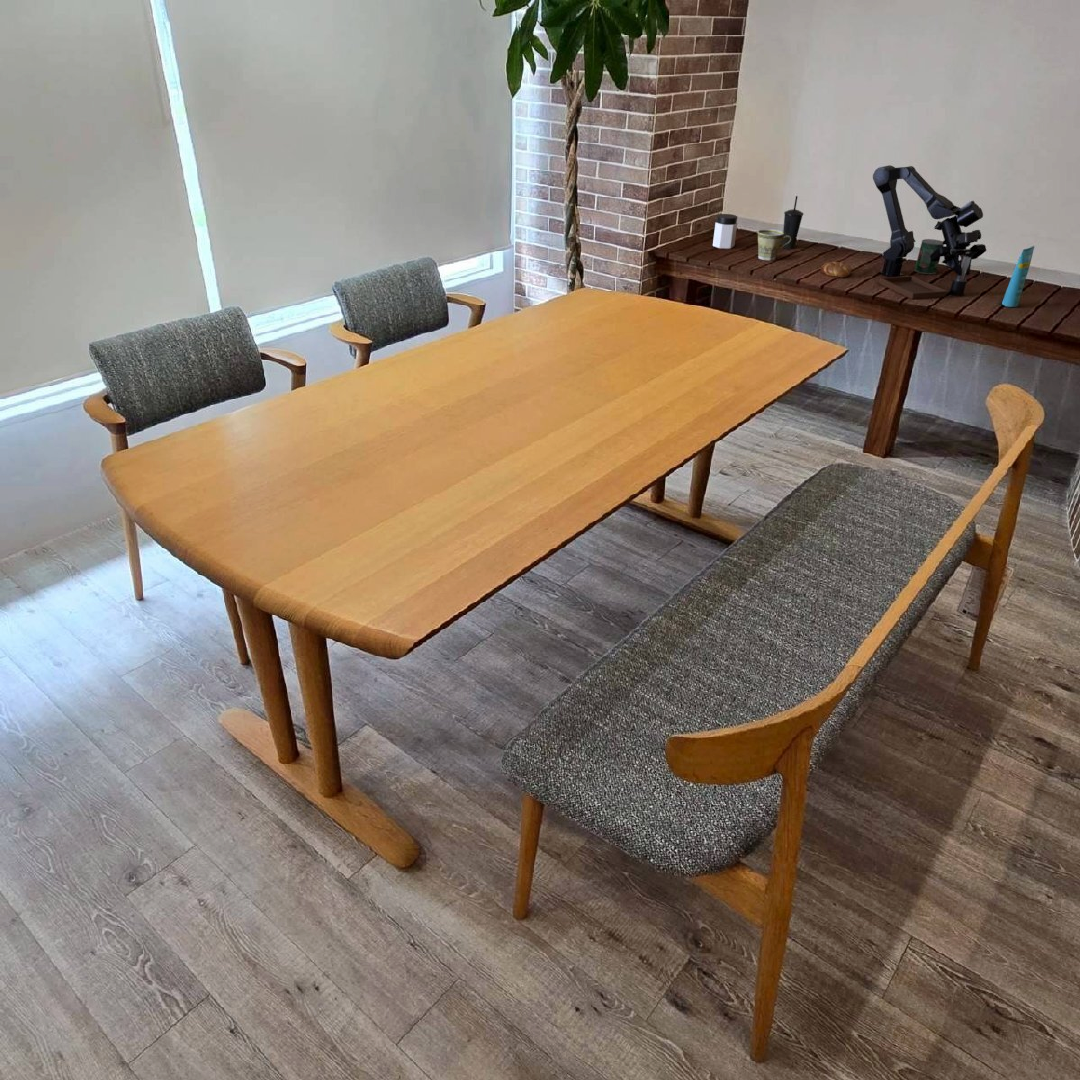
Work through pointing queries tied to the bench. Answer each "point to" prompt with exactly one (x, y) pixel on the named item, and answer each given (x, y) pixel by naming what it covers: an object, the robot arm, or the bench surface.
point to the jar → (725, 231)
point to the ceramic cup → (769, 243)
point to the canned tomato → (927, 256)
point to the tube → (1018, 278)
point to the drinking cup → (791, 226)
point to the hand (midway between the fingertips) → (964, 275)
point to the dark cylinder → (960, 278)
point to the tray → (912, 287)
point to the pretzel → (836, 269)
